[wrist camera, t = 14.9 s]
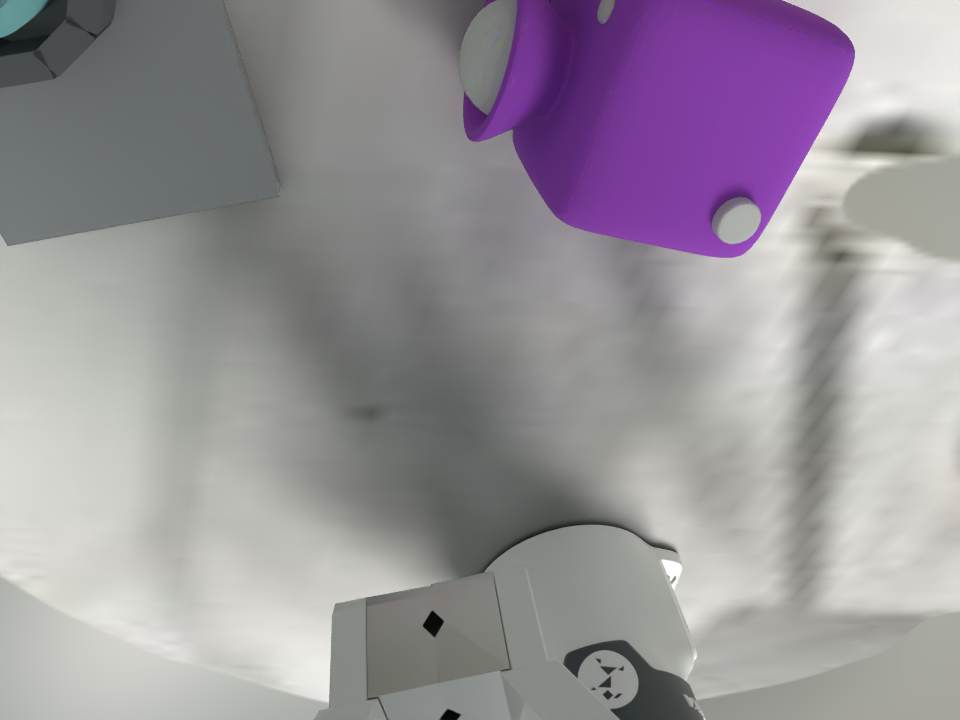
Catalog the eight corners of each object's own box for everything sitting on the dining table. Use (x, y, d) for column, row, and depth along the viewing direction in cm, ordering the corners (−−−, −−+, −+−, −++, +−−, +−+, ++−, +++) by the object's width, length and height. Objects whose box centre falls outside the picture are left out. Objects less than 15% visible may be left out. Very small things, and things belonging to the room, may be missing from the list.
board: (280, 185, 33) (279, 196, 32) (16, 233, 32) (7, 246, 31) (139, -270, 23) (132, -273, 22) (-245, -217, 23) (-270, -219, 22)
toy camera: (451, -92, 28) (501, -56, 20) (766, -59, 31) (918, -16, 23) (433, 172, 34) (467, 279, 26) (695, 180, 37) (796, 278, 29)
